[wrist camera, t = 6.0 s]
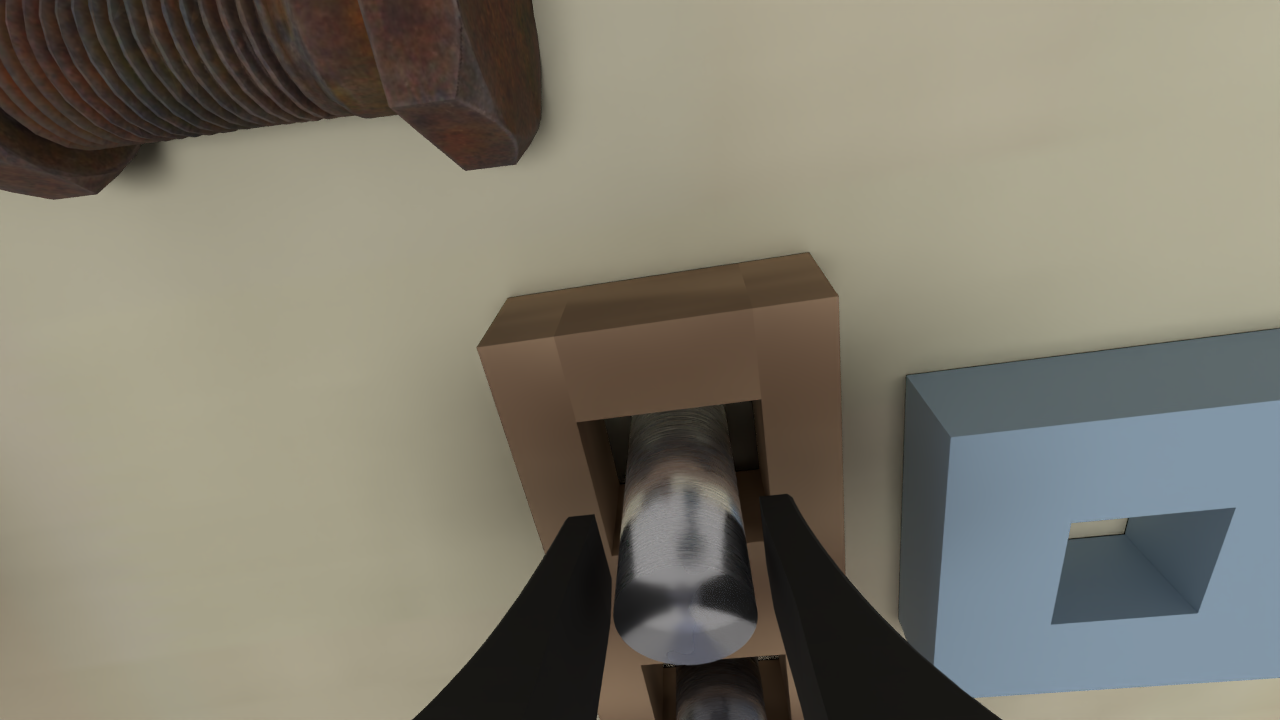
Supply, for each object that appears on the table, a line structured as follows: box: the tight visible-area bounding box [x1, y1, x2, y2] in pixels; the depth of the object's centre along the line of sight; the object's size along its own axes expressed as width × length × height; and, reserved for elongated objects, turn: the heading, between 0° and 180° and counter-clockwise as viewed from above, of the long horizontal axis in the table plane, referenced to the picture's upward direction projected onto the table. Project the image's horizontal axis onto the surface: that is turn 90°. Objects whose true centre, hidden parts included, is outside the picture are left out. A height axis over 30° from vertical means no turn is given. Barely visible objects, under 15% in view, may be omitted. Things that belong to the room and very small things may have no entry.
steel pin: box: [613, 404, 758, 665], centre depth 15 cm, size 3×3×7 cm
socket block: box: [898, 329, 1280, 698], centre depth 17 cm, size 10×10×3 cm
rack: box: [477, 253, 845, 720], centre depth 19 cm, size 18×8×3 cm, turn 10°
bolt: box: [0, 0, 541, 200], centre depth 12 cm, size 6×5×15 cm
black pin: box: [676, 656, 767, 720], centre depth 19 cm, size 3×3×6 cm
